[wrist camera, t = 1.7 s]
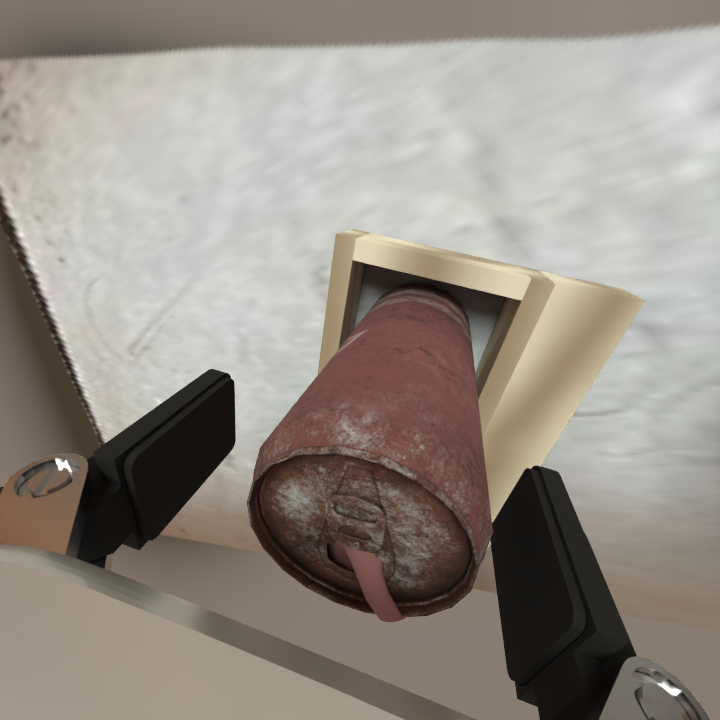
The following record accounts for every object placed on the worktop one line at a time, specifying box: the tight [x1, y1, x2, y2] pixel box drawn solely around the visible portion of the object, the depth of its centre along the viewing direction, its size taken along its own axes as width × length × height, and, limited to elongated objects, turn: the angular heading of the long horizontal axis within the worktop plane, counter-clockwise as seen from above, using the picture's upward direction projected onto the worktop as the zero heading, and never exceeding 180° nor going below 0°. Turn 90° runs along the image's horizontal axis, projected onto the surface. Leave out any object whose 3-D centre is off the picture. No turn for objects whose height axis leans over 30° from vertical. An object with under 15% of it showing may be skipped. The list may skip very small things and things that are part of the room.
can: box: [247, 283, 493, 622], centre depth 13 cm, size 6×6×14 cm
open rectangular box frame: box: [318, 229, 645, 551], centre depth 20 cm, size 14×23×4 cm, turn 170°
